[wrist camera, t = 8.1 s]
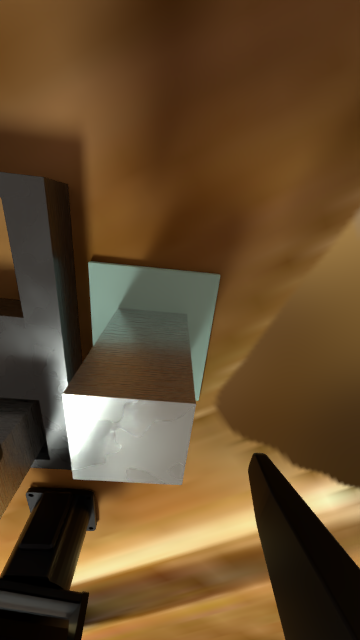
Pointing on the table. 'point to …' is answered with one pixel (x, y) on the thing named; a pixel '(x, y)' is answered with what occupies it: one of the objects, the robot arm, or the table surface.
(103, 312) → the mat
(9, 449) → the block
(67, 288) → the rail
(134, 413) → the block
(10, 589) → the robot arm
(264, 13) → the table surface
